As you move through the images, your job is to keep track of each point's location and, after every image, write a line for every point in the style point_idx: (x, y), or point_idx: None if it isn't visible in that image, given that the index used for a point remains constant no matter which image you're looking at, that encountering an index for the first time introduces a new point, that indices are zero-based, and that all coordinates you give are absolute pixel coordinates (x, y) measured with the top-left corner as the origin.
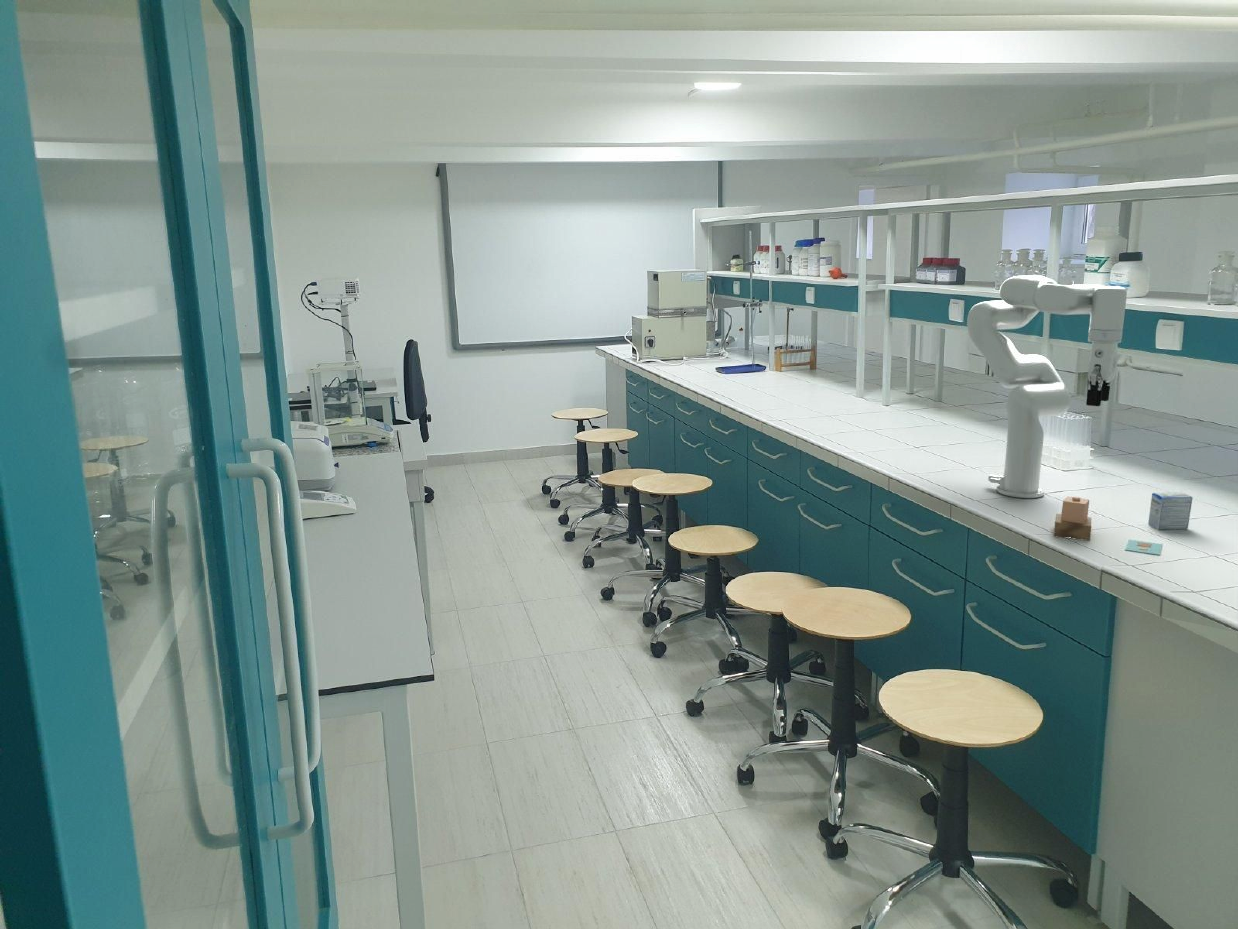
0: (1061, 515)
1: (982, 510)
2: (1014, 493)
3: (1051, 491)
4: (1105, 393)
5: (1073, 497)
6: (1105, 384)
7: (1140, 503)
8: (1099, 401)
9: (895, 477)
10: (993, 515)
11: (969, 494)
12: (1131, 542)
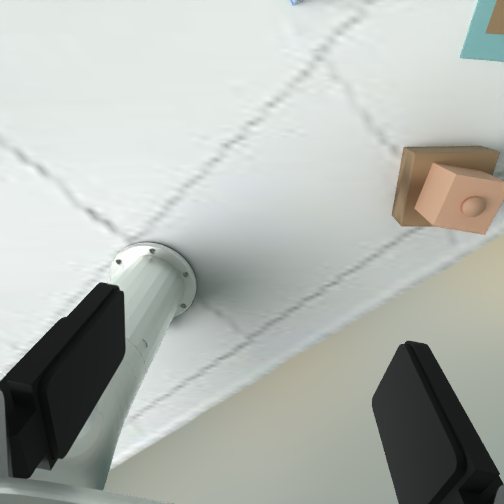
0: (414, 215)
1: (313, 327)
2: (193, 292)
3: (103, 228)
4: (94, 344)
5: (471, 215)
6: (28, 429)
7: (83, 28)
8: (439, 375)
9: (167, 432)
10: (340, 311)
11: (213, 348)
12: (488, 50)
